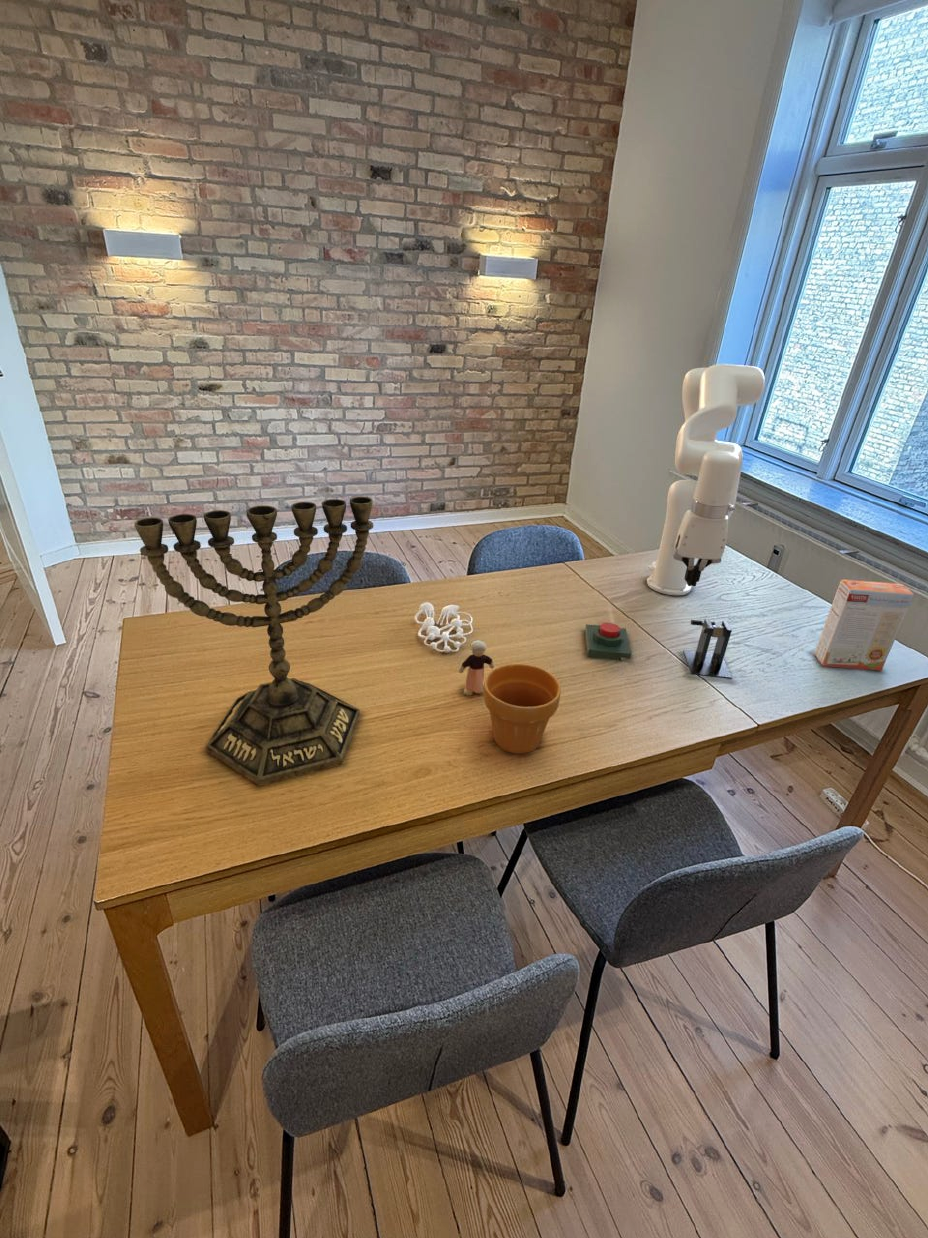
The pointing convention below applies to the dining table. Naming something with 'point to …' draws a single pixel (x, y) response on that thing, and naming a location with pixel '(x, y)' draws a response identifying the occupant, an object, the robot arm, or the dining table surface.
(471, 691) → the grandmother figurine
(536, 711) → the flower pot
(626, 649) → the button box
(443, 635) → the tangled rod sculpture
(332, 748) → the menorah
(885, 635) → the cracker box
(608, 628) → the red button
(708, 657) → the switch bracket
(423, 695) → the dining table surface
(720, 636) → the switch lever
